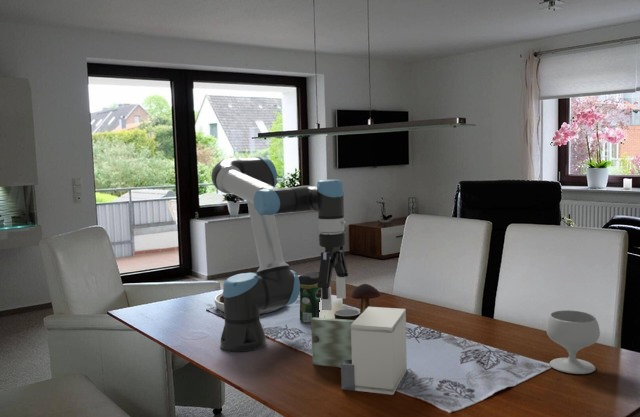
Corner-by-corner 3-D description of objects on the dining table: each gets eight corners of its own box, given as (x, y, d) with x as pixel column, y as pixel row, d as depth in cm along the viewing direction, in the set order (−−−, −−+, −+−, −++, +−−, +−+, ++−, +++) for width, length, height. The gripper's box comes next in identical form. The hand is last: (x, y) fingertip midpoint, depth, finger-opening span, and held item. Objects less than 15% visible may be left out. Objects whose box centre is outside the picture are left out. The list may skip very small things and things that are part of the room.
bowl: (249, 295, 262) (248, 278, 262) (301, 303, 245) (300, 285, 244) (199, 311, 238) (198, 292, 237) (253, 321, 221) (252, 301, 220)
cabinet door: (311, 365, 173) (310, 319, 172) (315, 362, 176) (313, 317, 174) (356, 369, 168) (355, 323, 167) (359, 366, 171) (358, 320, 169)
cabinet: (352, 390, 154) (350, 324, 152) (369, 365, 171) (368, 306, 169) (393, 394, 150) (391, 327, 148) (406, 369, 167) (405, 308, 165)
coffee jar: (310, 316, 225) (308, 269, 223) (327, 318, 220) (325, 271, 218) (296, 322, 216) (294, 274, 215) (313, 325, 212) (311, 276, 210)
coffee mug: (358, 346, 188) (358, 316, 187) (332, 345, 190) (332, 315, 189) (363, 334, 200) (362, 306, 199) (338, 334, 201) (338, 306, 200)
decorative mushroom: (347, 326, 209) (346, 286, 208) (356, 318, 219) (355, 279, 218) (376, 329, 205) (375, 288, 204) (384, 320, 215) (383, 281, 214)
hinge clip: (341, 389, 155) (340, 356, 154) (347, 381, 160) (347, 349, 159) (355, 391, 153) (354, 358, 152) (361, 382, 159) (360, 350, 158)
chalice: (539, 358, 172) (539, 309, 171) (586, 357, 172) (587, 308, 170) (556, 377, 158) (557, 323, 157) (608, 376, 158) (609, 322, 156)
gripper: (330, 239, 155) (332, 315, 157) (356, 227, 179) (358, 294, 181) (304, 238, 158) (307, 314, 160) (333, 226, 181) (335, 293, 183)
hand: (334, 303), depth 170 cm, fingers open, 13 cm apart
